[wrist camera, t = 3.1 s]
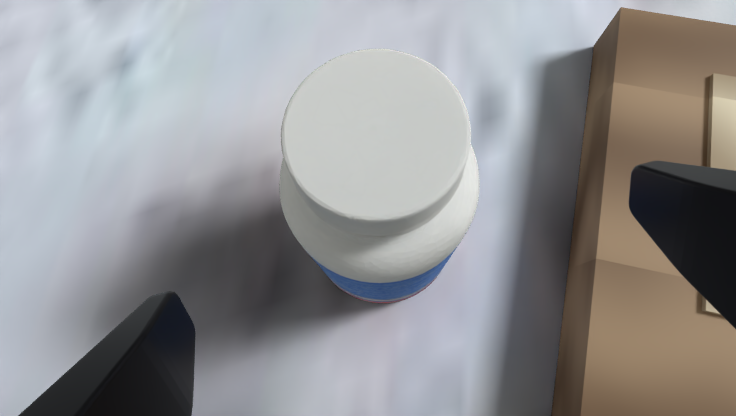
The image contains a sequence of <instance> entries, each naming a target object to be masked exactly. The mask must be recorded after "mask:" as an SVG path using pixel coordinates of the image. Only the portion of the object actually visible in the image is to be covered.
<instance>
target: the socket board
mask: <svg viewBox="0 0 736 416" xmlns="http://www.w3.org/2000/svg"><path fill="white" fill-rule="evenodd" d="M656 160H657V161H666V162H674V163H681V164H689V165H697V166H704V167H712V168H719V169H727V170H735V171H736V26H735V25H729V24H722V23H716V22H710V21H704V20H697V19H691V18H685V17H678V16H672V15H666V14H659V13H653V12H647V11H641V10H634V9H628V8H622V7H621V8H620V10H619V11H618V12H617V14H616V15H615V17H614V18H613V19H612V21H611V22H610V24H609V25H608V27H607V28H606V29H605V31H604V32H603V34H602V35H601V36H600V38H599V39H598V41H597V42H596V43H595V45H594V49H593V58H592V66H591V75H590V84H589V92H588V101H587V110H586V118H585V127H584V136H583V145H582V153H581V162H580V171H579V179H578V188H577V197H576V205H575V214H574V223H573V231H572V240H571V249H570V258H569V266H568V275H567V284H566V292H565V301H564V310H563V318H562V327H561V336H560V345H559V353H558V362H557V371H556V379H555V388H554V397H553V405H552V414H551V416H736V329H735V328H734V327H733V326H732V325H731V324H730V323H729V322H728V321H727V320H726V319H725V318H724V317H723V316H722V315H721V314H720V313H719V312H718V311H717V310H716V309H715V308H714V307H713V306H712V305H711V304H710V303H709V302H708V301H707V300H706V299H705V298H704V297H703V296H702V295H701V294H700V293H699V292H698V291H697V290H696V289H695V288H694V287H693V286H692V285H691V284H690V283H689V282H688V281H687V280H686V279H685V278H684V277H683V276H682V275H681V274H680V273H679V271H678V270H677V269H676V268H675V267H674V266H673V264H672V263H671V262H670V261H669V260H668V258H667V257H666V256H665V255H664V253H663V252H662V251H661V250H660V249H659V247H658V246H657V245H656V244H655V242H654V241H653V240H652V239H651V237H650V236H649V235H648V234H647V233H646V231H645V230H644V229H643V228H642V226H641V225H640V224H639V223H638V221H637V220H636V219H635V218H634V216H633V215H632V213H631V211H630V209H629V190H630V179H631V172H632V170H633V168H634V167H635V166H637V165H640V164H643V163H647V162H651V161H656Z"/></svg>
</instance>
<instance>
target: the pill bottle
mask: <svg viewBox="0 0 736 416" xmlns="http://www.w3.org/2000/svg"><path fill="white" fill-rule="evenodd" d="M470 143H471V128H470V120H469V116H468V111H467V108H466V106H465V103H464V101H463V99H462V97H461V95H460V93H459V91H458V90H457V88H456V87H455V86H454V85H453V84H452V82H451V81H450V80H449V79H448V78H447V77H446V76H445V75H444V74H443V73H442V72H441V71H440V70H439V69H437V68H436V67H435V66H433V65H432V64H430V63H429V62H427V61H425V60H423V59H421V58H419V57H416V56H414V55H411V54H407V53H404V52H401V51H396V50H389V49H367V50H359V51H354V52H350V53H347V54H344V55H341V56H338V57H336V58H334V59H332V60H330V61H328V62H327V63H325V64H324V65H322V66H320V67H318V68H317V69H316V70H315V71H313V72H312V73H311V74H310V75H309V76H308V77H306V78H305V79H304V81H303V82H302V83H301V84H300V85H299V87H298V88H297V89H296V91H295V93H294V94H293V96H292V97H291V99H290V101H289V104H288V106H287V108H286V111H285V114H284V118H283V122H282V128H281V145H282V153H283V161H282V166H281V171H280V182H279V193H280V200H281V206H282V209H283V213H284V216H285V219H286V221H287V223H288V225H289V227H290V229H291V231H292V233H293V234H294V236H295V237H296V239H297V240H298V242H299V243H300V244H301V245H302V247H303V248H304V249H305V251H306V252H307V253H308V254H309V255H310V256H311V257H312V259H313V260H314V261H315V262H316V263H317V264H318V265H319V266H320V267H321V269H322V270H323V271H324V272H325V273H326V275H327V276H328V277H329V278H330V280H331V281H332V282H333V283H334V284H335V285H336V286H338V287H339V288H340V289H341V290H343V291H344V292H346V293H348V294H349V295H351V296H353V297H356V298H358V299H361V300H364V301H368V302H374V303H392V302H398V301H402V300H405V299H408V298H410V297H412V296H414V295H416V294H418V293H419V292H421V291H422V290H424V289H425V288H426V287H428V286H429V285H430V284H431V283H432V282H433V281H434V280H435V279H436V277H437V276H438V274H439V273H440V272H441V270H442V268H443V267H444V265H445V264H446V263H447V261H448V260H449V258H450V257H451V255H452V254H453V252H454V251H455V249H456V248H457V246H458V245H459V243H460V242H461V240H462V239H463V237H464V236H465V234H466V232H467V230H468V228H469V226H470V224H471V222H472V220H473V217H474V215H475V211H476V208H477V204H478V198H479V171H478V165H477V160H476V156H475V153H474V150H473V148H472V146H471V144H470Z"/></svg>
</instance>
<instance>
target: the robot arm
mask: <svg viewBox="0 0 736 416" xmlns="http://www.w3.org/2000/svg"><path fill="white" fill-rule="evenodd" d="M629 209H630V211H631V213H632V215H633V216H634V218H635V219H636V220H637V221H638V223H639V224H640V225H641V226H642V228H643V229H644V230H645V231H646V233H647V234H648V235H649V236H650V237H651V239H652V240H653V241H654V242H655V244H656V245H657V246H658V247H659V249H660V250H661V251H662V252H663V253H664V255H665V256H666V257H667V258H668V260H669V261H670V262H671V263H672V264H673V266H674V267H675V268H676V269H677V270H678V271H679V273H680V274H681V275H682V276H683V277H684V278H685V279H686V280H687V281H688V282H689V283H690V284H691V285H692V286H693V287H694V288H695V289H696V290H697V291H698V292H699V293H700V294H701V295H702V296H703V297H704V298H705V299H706V300H707V301H708V302H709V303H710V304H711V305H712V306H713V307H714V308H715V309H716V310H717V311H718V312H719V313H720V314H721V315H722V316H723V317H724V318H725V319H726V320H727V321H728V322H729V323H730V324H731V325H732V326H733V327H734V328H735V329H736V171H735V170H727V169H719V168H712V167H704V166H697V165H689V164H681V163H674V162H666V161H657V160H656V161H651V162H647V163H643V164H640V165H637V166H635V167H634V168H633V170H632V172H631V179H630V190H629ZM194 359H195V328H194V324H193V322H192V320H191V318H190V316H189V314H188V313H187V311H186V309H185V307H184V305H183V304H182V302H181V300H180V298H179V297H178V295H177V294H176V293H175V292H172V291H168V292H164V293H161V294H157V295H153V296H151V297H149V298H148V299H147V300H146V301H145V302H144V303H143V304H141V305H140V306H139V307H138V308H137V309H136V310H135V311H134V312H133V313H131V314H130V315H129V316H128V317H127V318H126V319H125V320H124V321H123V322H121V323H120V324H119V325H118V326H117V327H116V328H115V329H114V330H113V331H112V332H110V333H109V334H108V335H107V336H106V337H105V338H104V339H103V340H102V341H100V342H99V343H98V344H97V345H96V346H95V347H94V348H93V349H92V350H90V351H89V352H88V353H87V354H86V355H85V356H84V357H83V358H82V359H81V360H79V361H78V362H77V363H76V364H75V365H74V366H73V367H72V368H71V369H69V370H68V371H67V372H66V373H65V374H64V375H63V376H62V377H61V378H59V379H58V380H57V381H56V382H55V383H54V384H53V385H52V386H51V387H49V388H48V389H47V390H46V391H45V392H44V393H43V394H42V395H41V396H40V397H38V398H37V399H36V400H35V401H34V402H33V403H32V404H31V405H30V406H28V407H27V408H26V409H25V410H24V411H23V412H22V413H21V414H20V415H18V416H191V415H192V406H193V387H194Z"/></svg>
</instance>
